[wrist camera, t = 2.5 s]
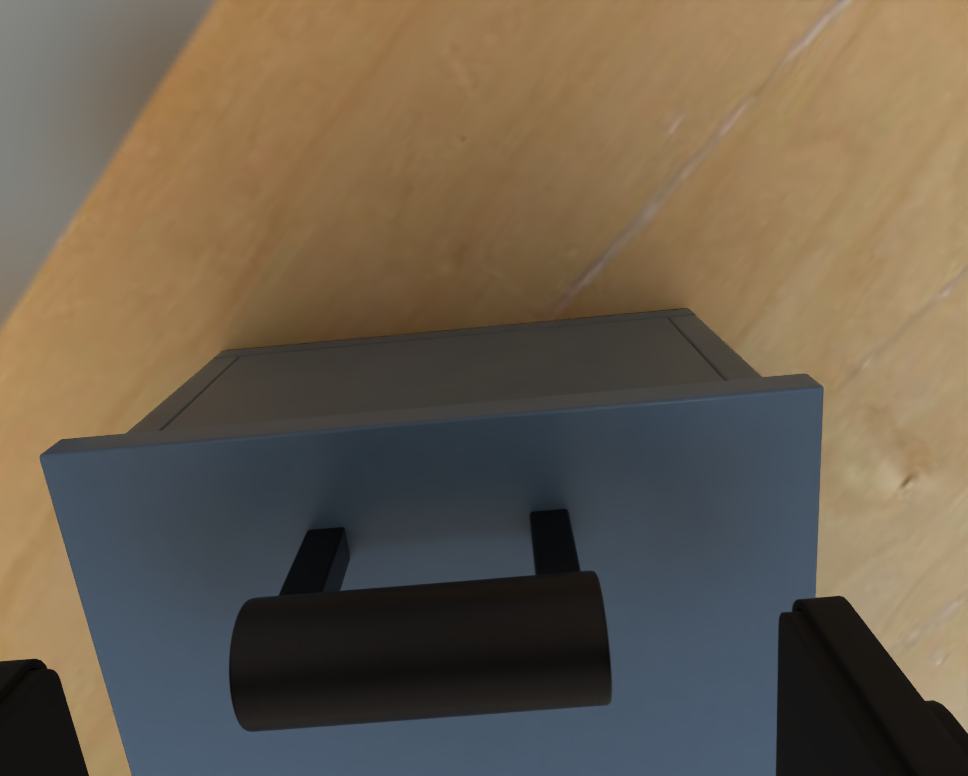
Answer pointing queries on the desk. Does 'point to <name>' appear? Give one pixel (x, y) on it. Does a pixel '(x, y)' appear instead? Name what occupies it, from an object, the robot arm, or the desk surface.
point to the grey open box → (450, 369)
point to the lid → (452, 583)
